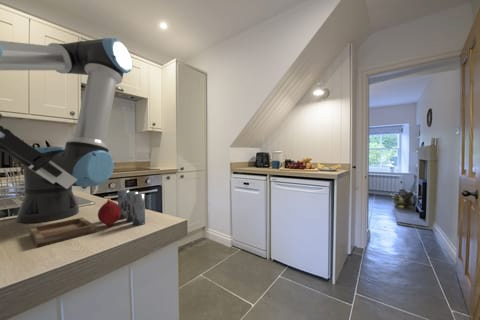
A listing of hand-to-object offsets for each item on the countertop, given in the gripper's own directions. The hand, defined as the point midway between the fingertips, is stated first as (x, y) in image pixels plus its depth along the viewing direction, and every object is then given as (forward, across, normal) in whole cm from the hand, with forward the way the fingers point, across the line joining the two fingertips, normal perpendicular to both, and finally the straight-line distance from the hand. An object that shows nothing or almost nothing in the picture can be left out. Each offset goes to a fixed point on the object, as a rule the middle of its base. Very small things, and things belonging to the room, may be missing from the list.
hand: (64, 181), depth 50 cm
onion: (+17, 0, -3) cm, 18 cm away
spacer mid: (+22, 0, +2) cm, 22 cm away
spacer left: (+21, -5, +2) cm, 22 cm away
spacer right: (+21, +5, +2) cm, 22 cm away
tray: (+10, -3, -10) cm, 14 cm away
